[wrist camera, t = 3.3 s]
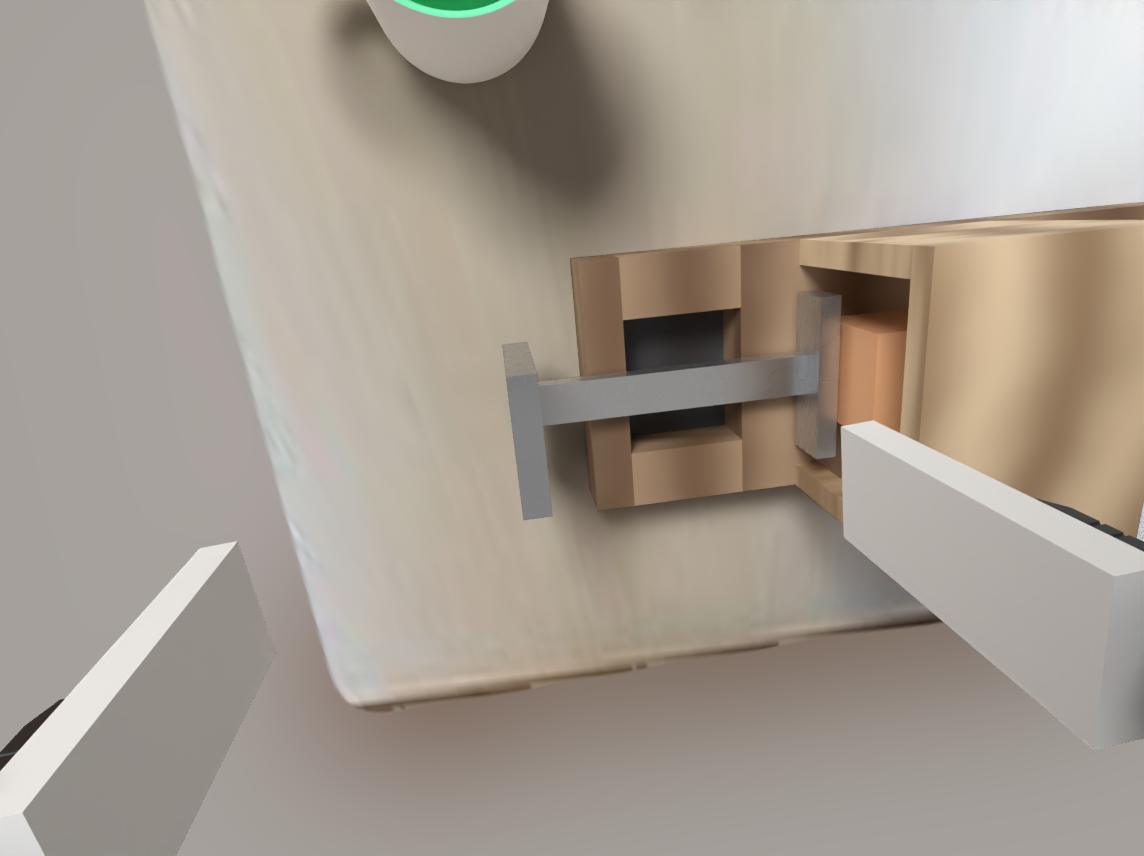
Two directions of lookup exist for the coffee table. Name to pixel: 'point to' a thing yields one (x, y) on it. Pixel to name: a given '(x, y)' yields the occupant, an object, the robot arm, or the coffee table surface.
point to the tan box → (1017, 355)
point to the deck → (717, 355)
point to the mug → (461, 34)
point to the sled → (679, 393)
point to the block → (872, 368)
